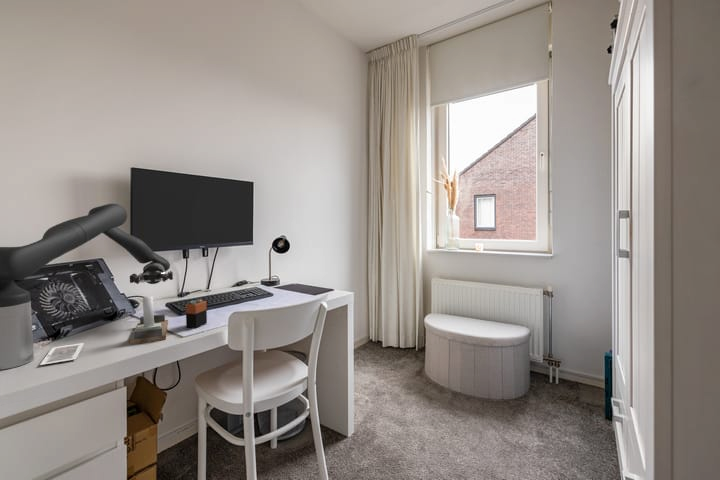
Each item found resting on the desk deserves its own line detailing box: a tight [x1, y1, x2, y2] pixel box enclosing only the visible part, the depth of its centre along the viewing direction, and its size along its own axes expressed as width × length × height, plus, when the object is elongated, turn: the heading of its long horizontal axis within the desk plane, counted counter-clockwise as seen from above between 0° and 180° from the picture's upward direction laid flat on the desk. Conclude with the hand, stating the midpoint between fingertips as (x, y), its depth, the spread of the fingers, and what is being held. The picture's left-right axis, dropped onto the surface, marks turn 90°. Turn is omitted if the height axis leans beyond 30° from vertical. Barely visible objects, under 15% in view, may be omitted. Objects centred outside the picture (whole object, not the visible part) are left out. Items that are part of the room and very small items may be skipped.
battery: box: [185, 298, 208, 329], centre depth 130 cm, size 4×7×10 cm, turn 168°
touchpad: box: [39, 342, 85, 366], centre depth 102 cm, size 8×15×2 cm, turn 32°
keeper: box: [135, 295, 161, 330], centre depth 116 cm, size 7×4×12 cm, turn 118°
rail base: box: [130, 313, 169, 345], centre depth 122 cm, size 10×20×4 cm, turn 28°
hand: (150, 280), depth 126 cm, fingers open, 8 cm apart
